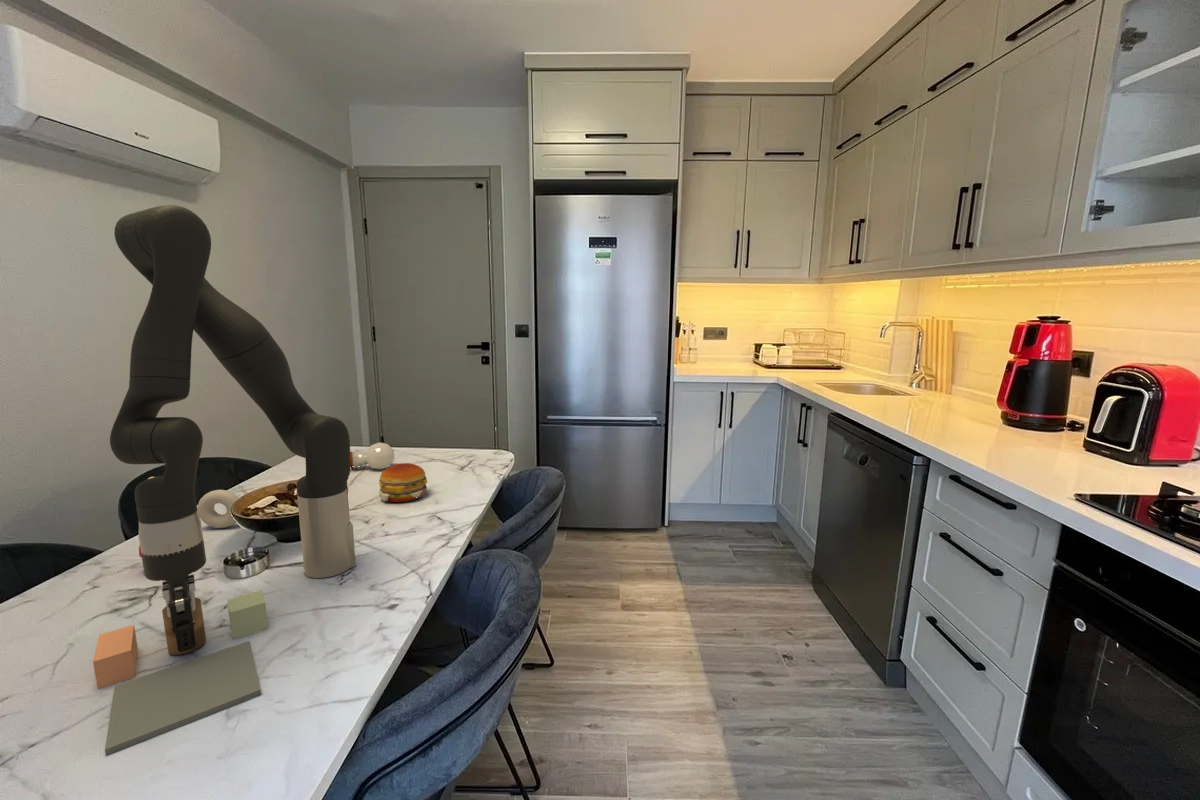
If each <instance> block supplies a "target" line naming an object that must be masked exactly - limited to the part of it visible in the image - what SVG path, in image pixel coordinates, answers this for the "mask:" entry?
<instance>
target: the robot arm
mask: <svg viewBox="0 0 1200 800" xmlns="http://www.w3.org/2000/svg"><path fill="white" fill-rule="evenodd" d="M114 240H115V242H116V245H117V246H118V249H119V250H120V252H121V253H122V254H123V256H124V257H125V258H126V260H127V261H128V262H129V263H130V264H131V265H132V266H133V267H134V268H135V269H136V270H137V271H138V272H139V273H140V274H141V275H142V277H144V278H145V279H146V280H147V281H148V282H149V283H150V285H152V286H151V291H150V295H149V298H148V302H147V305H146V307H145V308H144V309H145V310H144V312H143V315H142V317H141V318H140V320H139V322H138V325H137V327H136V331H135V333H134V335H133V339H132V344H131V351H130V360H129V361H130V363H129V382H128V389H127V390H126V391H127V392H126V395H125V396H124V398H123V400H122V403H121V407H120V408H119V411H118V414H117V416H116V418H115V421H114V422H113V425H112V428H111V431H110V434H109V435H110V436H109V445H110V449H111V451H112V453H113V455H114V456H115V457H116V459H117V460H118V461H120V462H121V463H124V464H127V465H160V464H161V465H162V464H164V472H163V475H159V476H153V477H154V478H150V477H149V478H150V479H148V478H147V479H145V480H143V481H141V482H139V483H137V485H136V486H135V489H134V501H135V506H136V507H135V508H136V513H137V514H136V515H137V520H138V542H139V546H140V548H141V555H142V558H141V561H142V569H143V573H144V577H145V578H146V579H147V580H149V581H153V582H160V581H162V584H161V585H162V589H161V592H162V598H163V600H164V601H165V607H167V615H168V617H171V621H172V632H173V633H174V634H176V640H177V647H178V651H179V652H183V651H186V650H189V649H192V648H194V647H195V646H196V641H195V634H194V625H195V620H193V613H192V612H193V611H194V610H195V608H196V605H195V598H196V595H195V592H196V581H195V580H196V579H195V574H194V573H195V572H197V571H199V570H200V569H202V568H203V567H204V566H205V564H206V563H207V556H206V549H205V541H204V534H203V525H202V520H201V519H200V517H199V514H198V510H197V509H198V503H197V496H196V489H195V484H196V479H197V472H198V466H199V461H200V457H201V453H202V449H203V443H204V441H203V440H204V437H203V433H202V431H201V428H200V427H199V425H198V424H197V423H196V422H195V421H193V420H192V419H191V418H188V417H185V416H184V417H182V416H170V417H169V416H167V417H166V416H165V417H163V416H161V417H158V414H159V412H160V411H161V409H162V408H163V407H164V406H166V405H167V404H171V403H176V402H180V401H183V400H186V399H187V398H188V397H189V395H190V390H191V369H192V347H193V346H192V345H193V336H194V332H195V334H196V335H198V336H199V338H200V339H201V340H202V341H203V343H205V345H206V346H207V347H208V349H209V350H210V351H211V352H212V354H213V356H214V357H215V358H216V359H217V360H218V361H219V363H220V364H221V365H222V367H224V368H225V370H226V371H227V373H228V374H229V375H230V376H231V377H232V378H233V379H234V380H235V382H237V383H238V384H239V386H240V387H241V388H242V389H243V391H244V392H245V393H246V394H247V395H248V396H249V398H250V399H252V401H254V403H255V404H256V405H257V406H258V407H259V409H261V410H262V412H263V413H264V414H265V416H266V417H267V418H268V420H269V421H270V423H271V424H272V426H273V428H274V429H275V431H276V432H277V434H278V436H279V438H280V439H281V440H282V442H283V443H284V445H285V447H286V448H287V449H288V450H289V451H290V452H291V453H292V454H294V455H295V456H298V457H301V458H304V459H305V460H304V461H305V475H304V476H302V477H301V478H299V479H298V480H297V482H296V497H297V507H298V516H299V517H298V519H299V528H300V541H301V550H302V561H303V565H302V566H303V572H304V575H305V576H306V577H308V578H313V579H323V578H329V577H334V576H337V575H340V574H343V573H344V572H346V571H348V570H350V568H355V567H357V565H356V564H357V563H356V550H355V534H354V526H353V523H352V522H351V518H350V516H351V515H350V507H349V506H350V505H349V492H348V479H349V478H350V473H351V468H350V452H351V441H350V440H351V439H350V434H349V431H348V427H347V425H346V424H345V423H344V422H343V421H342V420H340V419H339V418H336V417H333V416H329V415H323V414H318V413H317V412H316V411H315V410H314V409H313V408H312V407H311V406H310V405H309V404H308V403H307V401H306V400H305V399H304V398H303V397H302V395H301V394H300V393H299V392H298V390H297V388H296V386H295V384H294V382H293V378H292V373H291V370H290V369H291V368H290V366H289V363H288V359H287V357H286V355H285V353H284V352H283V350H282V348H281V347H280V345H279V344H278V343H277V342H276V340H275V339H274V338H273V336H272V334H271V333H270V332H269V330H268V329H267V328H266V327H265V326H264V324H263V323H262V322H260V321H259V320H258V319H257V318H256V317H255V316H253V315H252V314H251V313H249V312H248V311H246V310H245V309H244V308H242V307H241V306H239V305H238V304H236V303H234V302H233V301H231V300H230V299H229V298H227V297H226V296H224V295H223V294H222V293H221V292H219V291H218V289H216V288H215V287H214V286H213V285H212V284H211V283H210V282H209V281H208V279H207V278H206V277H205V276H206V272H207V268H208V264H209V261H210V256H211V250H212V238H211V234H210V230H209V229H208V227H207V224H205V222H204V221H203V220H202V219H201V217H200V216H198V214H196V213H195V212H194V211H192V210H190V209H189V208H186V207H184V206H181V205H174V204H165V205H157V206H153V207H151V208H146V209H143V210H140V211H139V210H138V211H134V212H133V213H132V212H131V213H129V214H125V215H124V216H122V217H121V218H119V219H118V220H117V222H116V224H115V227H114ZM190 601H191V603H190ZM183 619H189V620H185V621H182V622H178V623H177V621H180V620H183Z"/></svg>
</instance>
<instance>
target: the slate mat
mask: <svg viewBox="0 0 1200 800" xmlns="http://www.w3.org/2000/svg"><path fill="white" fill-rule="evenodd" d="M253 655H254V654H253V651H252V645H251V642H250V640H247V641H244V642H241V643H239V644H234V645H233V646H229V647H227V648H224V649H220V650H217V651H214V652H211V653H208V654H205V655H202V656H200V657H196V658H193V659H190V660H188V661H183V662H182V663H178V664H174V665H173V666H169V667H166V668H163V669H161V670H157V671H153V672H151V673H147V674H145V675H143V676H139V677H137V678H132V679H130V680H126V681H124V682H123V681H122V682H121V683H119V684H117V683H116V684H115V685H114V687H113V694H112V702H111V707H110V713H109V719H108V720H109V722H108V726H107V734H106V739H105V740H106V741H105V746H104V747H105V748H104V752H105V756H108V755H110V754H113V753H115V752H118V751H121V750H123V749H126V748H128V747H131V746H133V745H136V744H139V743H140V742H143V741H146V740H148V739H151V738H154V737H156V736H159V735H162V734H163V733H167V732H169V731H172V730H174V729H176V728H179V727H182V726H184V725H187V724H190V723H192V722H195V721H197V720H200V719H203V718H205V717H207V716H210V715H212V714H215V713H218V712H220V711H223V710H225V709H227V708H230V707H233V706H235V705H238V704H240V703H243V702H246V701H249V700H250V699H253V698H256V697H259V696H261V695H262V690H261V684H260V680H259V676H258V671H257V669H256V663H255V658H254V656H253Z"/></svg>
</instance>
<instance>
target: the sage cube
mask: <svg viewBox="0 0 1200 800" xmlns="http://www.w3.org/2000/svg"><path fill="white" fill-rule="evenodd" d="M226 601H227V611H228V617H229V625H230V631H231V637H232V640H237V639H240V638H243V637H246V636H249V635H252V634H256V633H258V632H261V631H265V630H268V629H269V621H268V613H267V611H268V609H267V602H266V599H265V595H264V592H263V589H260V590H257V591H252V592H250V593H246V594H243V595H242V594H241V595H239V596H235V597H232V598H228V599H227V600H226Z"/></svg>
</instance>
